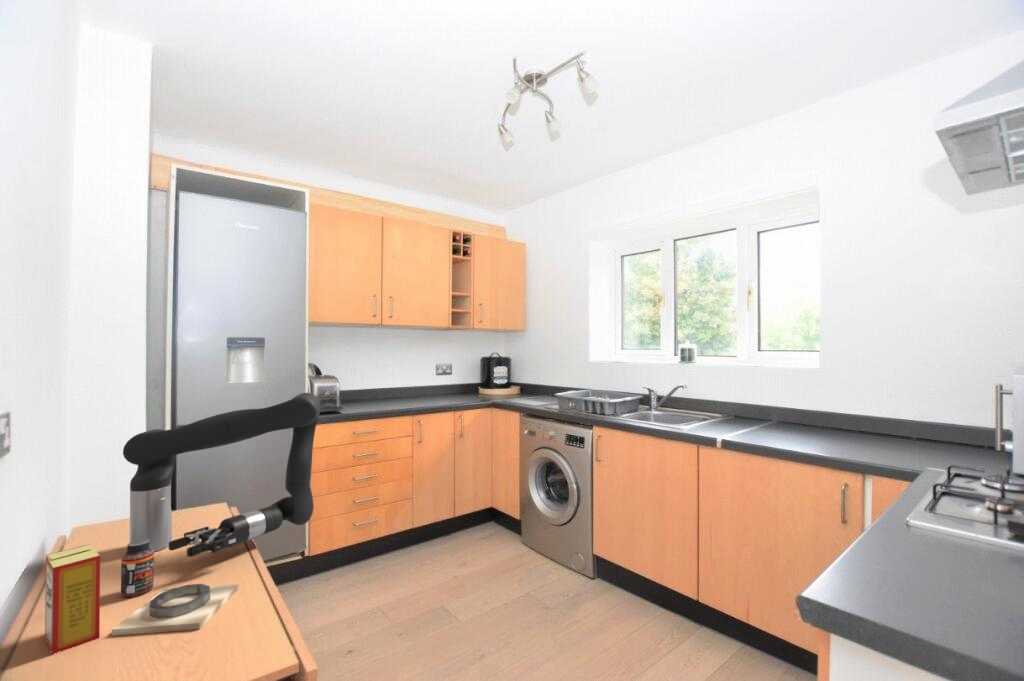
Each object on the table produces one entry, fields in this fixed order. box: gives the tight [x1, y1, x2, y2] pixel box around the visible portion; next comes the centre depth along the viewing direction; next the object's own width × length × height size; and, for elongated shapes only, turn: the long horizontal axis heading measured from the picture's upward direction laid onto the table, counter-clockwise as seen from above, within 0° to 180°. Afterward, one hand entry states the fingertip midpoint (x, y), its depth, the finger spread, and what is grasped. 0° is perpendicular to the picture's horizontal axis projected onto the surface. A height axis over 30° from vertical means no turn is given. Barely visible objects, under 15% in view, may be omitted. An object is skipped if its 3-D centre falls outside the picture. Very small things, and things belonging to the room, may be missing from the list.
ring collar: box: [150, 583, 211, 619], centre depth 100 cm, size 10×10×2 cm
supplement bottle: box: [120, 539, 155, 598], centre depth 108 cm, size 6×6×11 cm
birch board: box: [111, 583, 239, 636], centre depth 100 cm, size 16×16×1 cm
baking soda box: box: [44, 544, 101, 655], centre depth 91 cm, size 10×6×16 cm
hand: (178, 549), depth 116 cm, fingers open, 8 cm apart
